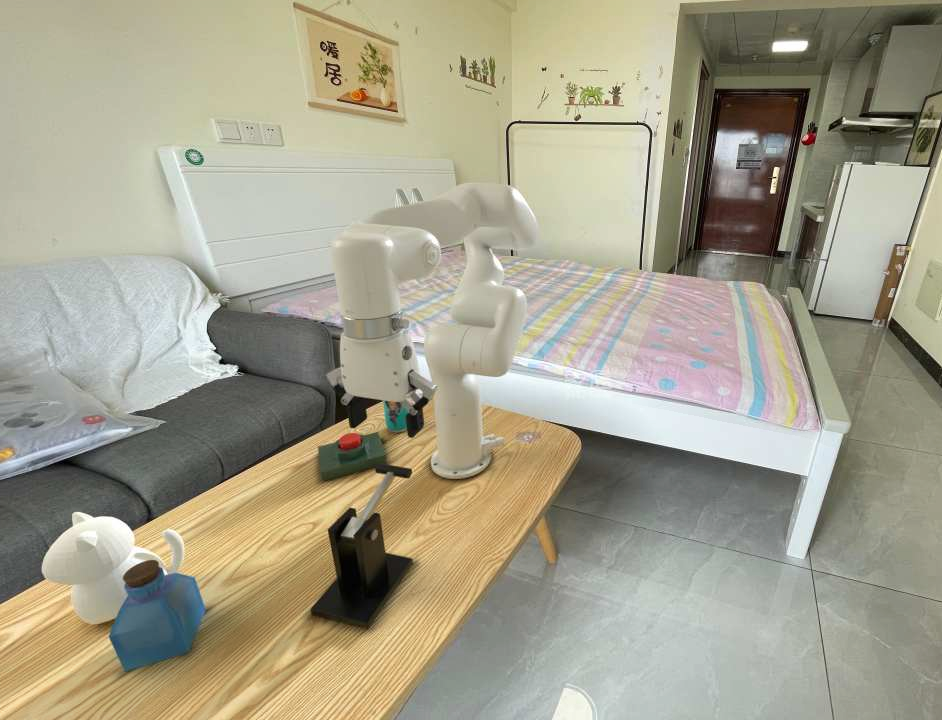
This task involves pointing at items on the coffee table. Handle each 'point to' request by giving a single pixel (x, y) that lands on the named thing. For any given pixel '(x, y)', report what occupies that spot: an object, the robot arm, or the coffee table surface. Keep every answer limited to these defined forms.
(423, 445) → the coffee table surface
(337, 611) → the bracket
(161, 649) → the perfume bottle
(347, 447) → the button
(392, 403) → the beverage can
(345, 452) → the control box
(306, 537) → the coffee table surface
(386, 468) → the lever
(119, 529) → the cat figurine
